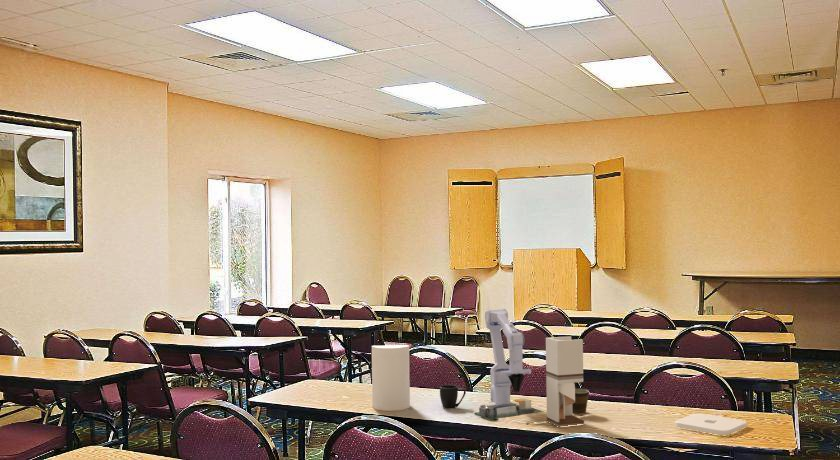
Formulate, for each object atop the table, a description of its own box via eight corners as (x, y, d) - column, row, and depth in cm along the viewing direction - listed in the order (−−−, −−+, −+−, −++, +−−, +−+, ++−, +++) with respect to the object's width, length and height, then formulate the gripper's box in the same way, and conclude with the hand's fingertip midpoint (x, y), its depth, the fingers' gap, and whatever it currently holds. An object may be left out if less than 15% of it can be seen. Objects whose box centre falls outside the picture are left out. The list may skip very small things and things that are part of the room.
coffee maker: (558, 427, 300) (557, 340, 301) (546, 421, 310) (545, 337, 311) (584, 425, 303) (582, 339, 304) (571, 419, 314) (570, 336, 314)
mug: (462, 410, 333) (462, 389, 333) (437, 408, 337) (437, 387, 337) (468, 406, 340) (467, 385, 340) (443, 404, 345) (443, 384, 345)
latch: (514, 409, 330) (514, 399, 330) (524, 408, 332) (524, 397, 332) (521, 411, 325) (520, 401, 325) (531, 410, 328) (531, 399, 328)
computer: (671, 428, 298) (671, 421, 298) (696, 418, 314) (696, 412, 314) (726, 438, 283) (726, 431, 283) (749, 427, 298) (749, 421, 298)
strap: (482, 409, 322) (482, 406, 322) (510, 405, 328) (510, 402, 328) (488, 411, 318) (488, 408, 318) (516, 407, 324) (516, 404, 324)
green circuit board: (473, 414, 325) (473, 404, 325) (525, 407, 338) (524, 397, 338) (490, 421, 312) (490, 410, 312) (543, 413, 325) (543, 403, 325)
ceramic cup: (581, 410, 330) (580, 387, 330) (594, 415, 321) (593, 392, 321) (555, 413, 325) (555, 390, 326) (568, 418, 316) (567, 394, 316)
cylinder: (409, 410, 334) (409, 347, 335) (371, 410, 334) (370, 348, 335) (410, 402, 352) (409, 342, 352) (373, 402, 351) (372, 343, 352)
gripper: (507, 363, 321) (507, 394, 320) (534, 360, 327) (535, 391, 327) (498, 360, 327) (498, 391, 327) (525, 358, 333) (526, 388, 333)
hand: (516, 391), depth 327 cm, fingers closed
